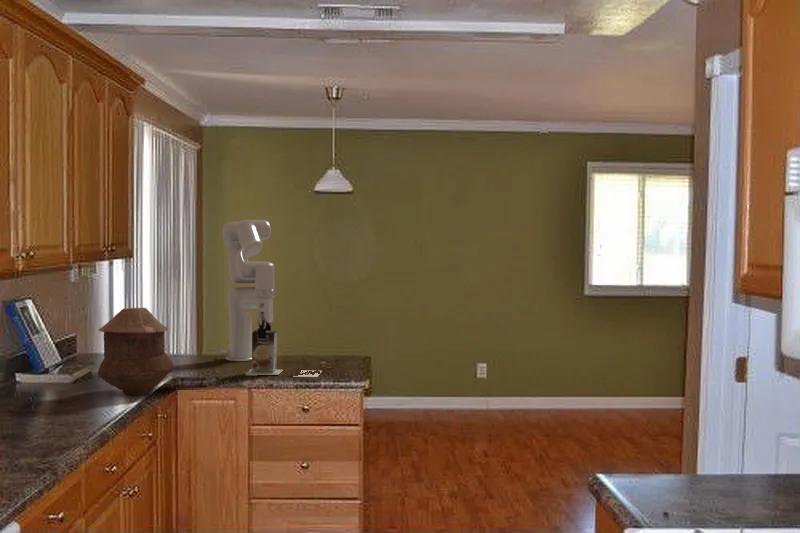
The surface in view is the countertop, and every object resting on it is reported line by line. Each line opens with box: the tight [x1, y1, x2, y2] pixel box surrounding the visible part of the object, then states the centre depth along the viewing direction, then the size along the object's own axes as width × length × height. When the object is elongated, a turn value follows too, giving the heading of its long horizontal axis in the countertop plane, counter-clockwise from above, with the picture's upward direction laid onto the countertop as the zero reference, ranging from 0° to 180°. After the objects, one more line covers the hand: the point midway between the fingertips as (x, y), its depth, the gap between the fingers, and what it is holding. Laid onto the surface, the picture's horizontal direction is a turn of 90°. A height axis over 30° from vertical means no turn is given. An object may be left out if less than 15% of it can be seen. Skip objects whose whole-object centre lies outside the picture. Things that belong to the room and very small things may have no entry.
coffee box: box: [251, 329, 278, 373], centre depth 348 cm, size 9×6×16 cm
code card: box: [293, 369, 323, 378], centre depth 349 cm, size 12×14×1 cm
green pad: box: [245, 368, 284, 376], centre depth 349 cm, size 13×10×1 cm
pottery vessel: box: [97, 307, 175, 396], centre depth 307 cm, size 26×26×30 cm
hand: (264, 336), depth 348 cm, fingers open, 9 cm apart
